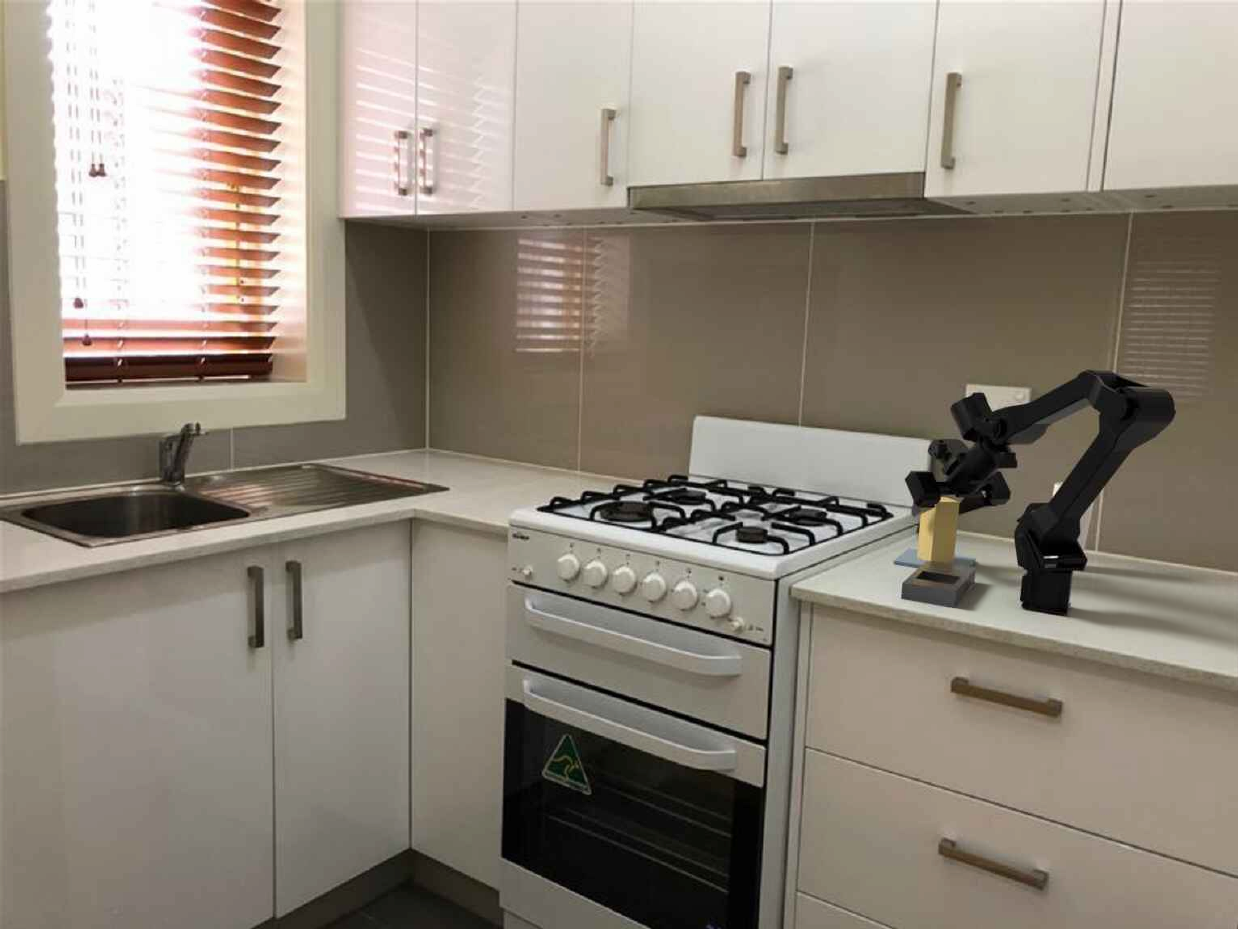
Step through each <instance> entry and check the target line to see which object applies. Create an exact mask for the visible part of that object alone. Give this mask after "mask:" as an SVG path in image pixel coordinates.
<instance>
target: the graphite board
mask: <svg viewBox="0 0 1238 929" xmlns="http://www.w3.org/2000/svg"><path fill="white" fill-rule="evenodd" d="M976 572H977V568H976V567H975V566H974V567H972V566H971V567H967V566H961V565H954V564H948V563H941V562H935V561H928V560H927V561H926V562H925V563H924V564H923V565H921V566H920V567H919V568H917V569H916V570H915V571H913V573H911V574H910V575H909V576H908V577H907V578H906V579H905V580H904V581H903V582H901V583H902V584H901V597H900V599H903V600H909V601H914V602H921V603H926V604H932V605H938V606H943V607H948V608H949V607H950V608H956V606H957V605H958V603H959V602H960V601H961V600H962V599H963V597H965V595H966V594H967V592H969V590H970V589H971V588H972V587H973V585H974V584H975V580H976Z"/></svg>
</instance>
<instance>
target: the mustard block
mask: <svg viewBox="0 0 1238 929" xmlns="http://www.w3.org/2000/svg"><path fill="white" fill-rule="evenodd" d="M960 502H961V501H957V500H955V499H951V498H948V497H947V496H941V500H940V501H939V503H938V504H935V508H933V509H931V510H929V511H927V512H925V513H923V514H921V515H920V521H919V530H918V541H917V542H918V543H917V550H918V551H917V557H919V558H921V559H923V560H925V561H927V560H928V561H935V562H941V563H954V555H955V552H956V551H955V550H956V542H957V533H958V522H959V516H958V513H959V503H960Z"/></svg>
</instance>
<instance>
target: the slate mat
mask: <svg viewBox="0 0 1238 929" xmlns="http://www.w3.org/2000/svg"><path fill="white" fill-rule="evenodd" d="M917 551H918V548H917V549H916V548H908V549H906V550H905V551H904V552H903V553H901V554H900V555H899V556H898V557H896V558H895V559H894V560H893V563H892V564H893V565H897V566H905V567H911V568H915V569H916V568H917V569H918V568H919V567H920V566H921V565H923V564H924V563H925V562H926V561H925V560H923V559H921V558H919V557H917ZM975 563H976V558H975V557H970V556H962V555H957V554H956V555H955V554H954V563H948V564H954V565H961V566H967V567H972V566H973V565H974V564H975Z"/></svg>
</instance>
